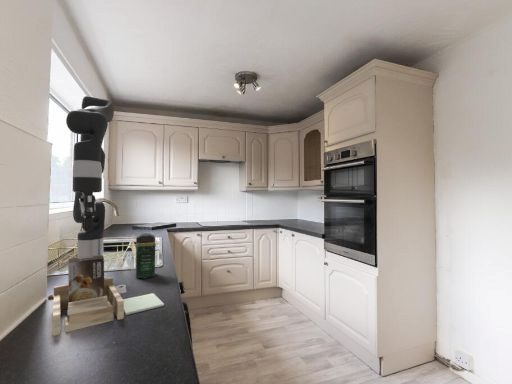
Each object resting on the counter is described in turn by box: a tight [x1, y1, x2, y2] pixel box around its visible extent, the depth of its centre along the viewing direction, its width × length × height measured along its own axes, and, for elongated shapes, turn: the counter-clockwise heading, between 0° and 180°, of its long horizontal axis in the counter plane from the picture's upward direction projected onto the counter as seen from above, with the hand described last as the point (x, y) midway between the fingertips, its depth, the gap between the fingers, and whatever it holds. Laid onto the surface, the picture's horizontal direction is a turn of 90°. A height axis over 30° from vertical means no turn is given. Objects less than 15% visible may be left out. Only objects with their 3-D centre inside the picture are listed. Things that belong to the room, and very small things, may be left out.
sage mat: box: [122, 292, 165, 316], centre depth 86 cm, size 12×11×1 cm
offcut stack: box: [64, 296, 114, 333], centre depth 73 cm, size 6×11×6 cm, turn 126°
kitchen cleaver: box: [47, 284, 127, 301], centre depth 94 cm, size 24×1×10 cm
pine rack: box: [52, 276, 125, 337], centre depth 79 cm, size 20×16×7 cm
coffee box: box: [67, 255, 105, 302], centre depth 81 cm, size 9×6×16 cm
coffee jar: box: [135, 232, 156, 279], centre depth 117 cm, size 10×8×19 cm
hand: (87, 229), depth 81 cm, fingers open, 8 cm apart
